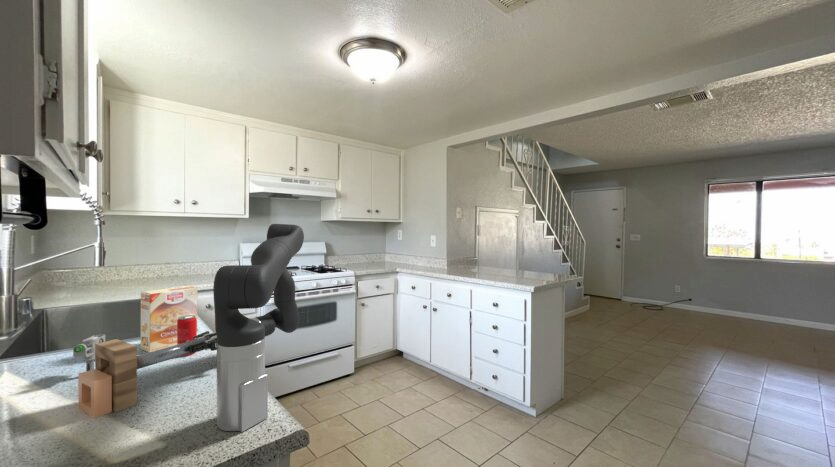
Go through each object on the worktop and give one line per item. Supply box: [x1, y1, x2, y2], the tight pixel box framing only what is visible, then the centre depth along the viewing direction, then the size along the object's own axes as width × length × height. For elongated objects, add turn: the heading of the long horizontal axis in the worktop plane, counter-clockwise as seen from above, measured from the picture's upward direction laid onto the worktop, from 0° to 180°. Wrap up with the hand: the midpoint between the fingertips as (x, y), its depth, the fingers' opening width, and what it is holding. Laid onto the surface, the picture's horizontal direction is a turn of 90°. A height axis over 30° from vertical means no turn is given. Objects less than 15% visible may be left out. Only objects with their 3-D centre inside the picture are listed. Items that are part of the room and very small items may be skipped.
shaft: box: [137, 336, 211, 370], centre depth 90 cm, size 21×3×3 cm, turn 152°
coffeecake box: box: [140, 285, 198, 353], centre depth 120 cm, size 15×7×20 cm, turn 150°
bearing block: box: [94, 338, 138, 413], centre depth 81 cm, size 10×4×14 cm, turn 62°
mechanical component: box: [72, 334, 106, 372], centre depth 95 cm, size 3×10×10 cm, turn 15°
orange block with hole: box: [77, 368, 113, 419], centre depth 77 cm, size 8×3×8 cm, turn 62°
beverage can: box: [177, 315, 198, 357], centre depth 112 cm, size 5×5×12 cm
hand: (185, 348), depth 94 cm, fingers closed on shaft, 3 cm apart
